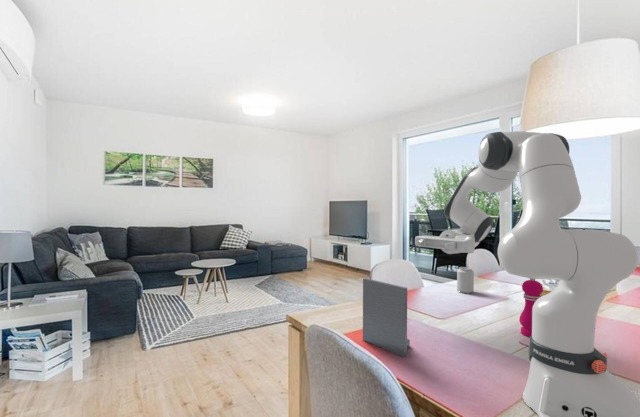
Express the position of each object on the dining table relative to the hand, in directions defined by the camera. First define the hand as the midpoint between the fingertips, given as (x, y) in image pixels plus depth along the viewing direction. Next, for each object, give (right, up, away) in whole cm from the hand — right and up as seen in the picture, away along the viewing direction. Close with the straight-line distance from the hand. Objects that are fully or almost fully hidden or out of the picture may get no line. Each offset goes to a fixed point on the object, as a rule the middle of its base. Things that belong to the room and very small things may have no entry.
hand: (431, 244), depth 116 cm
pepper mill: (+33, -30, -3) cm, 45 cm away
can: (+33, -29, +51) cm, 67 cm away
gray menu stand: (-16, -30, -10) cm, 36 cm away
